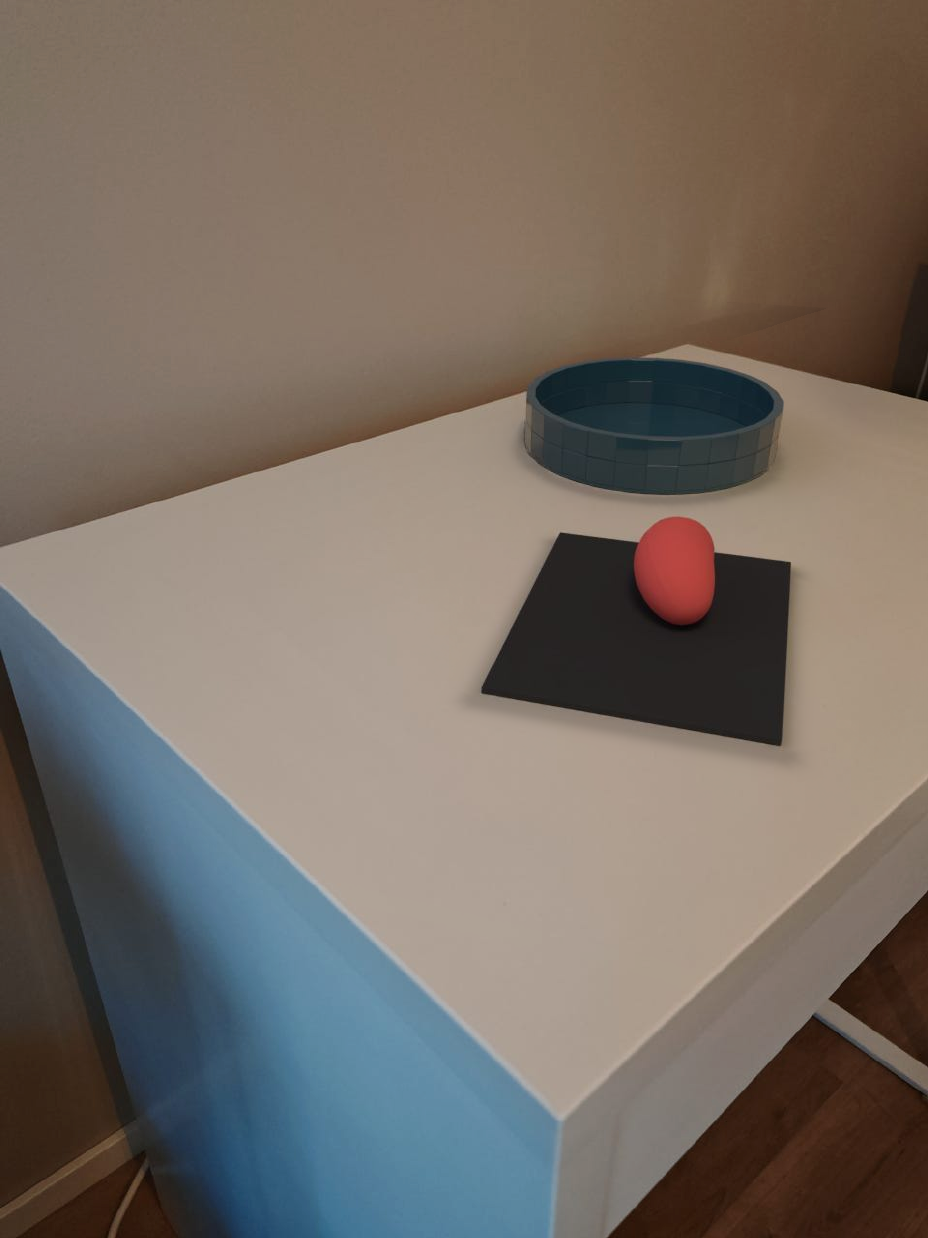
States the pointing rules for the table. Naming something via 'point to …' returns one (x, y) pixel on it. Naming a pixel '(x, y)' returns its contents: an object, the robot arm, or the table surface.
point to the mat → (650, 644)
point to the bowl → (652, 425)
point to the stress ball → (676, 569)
